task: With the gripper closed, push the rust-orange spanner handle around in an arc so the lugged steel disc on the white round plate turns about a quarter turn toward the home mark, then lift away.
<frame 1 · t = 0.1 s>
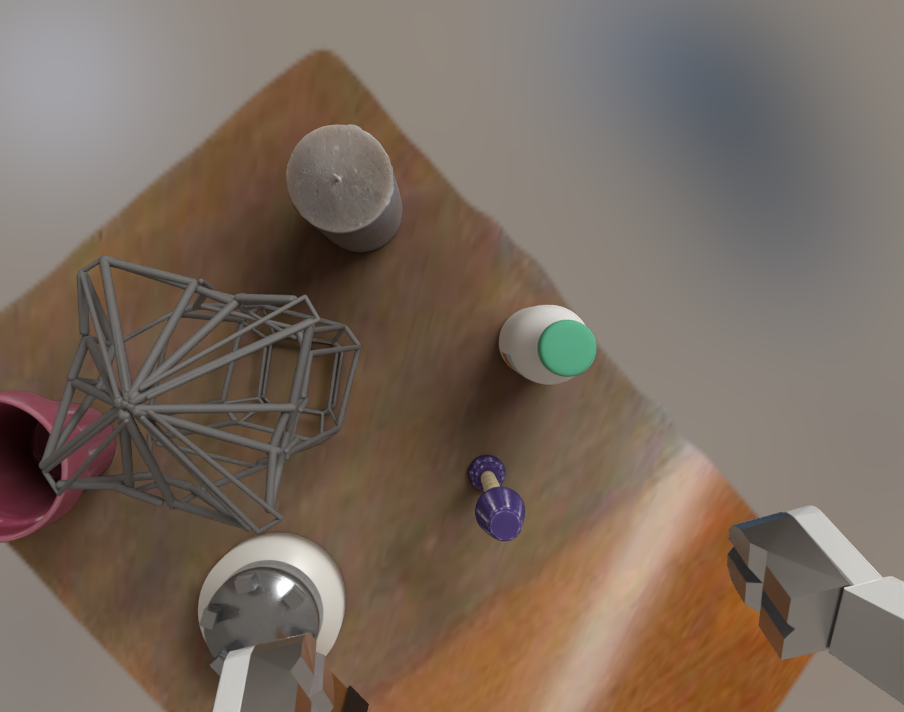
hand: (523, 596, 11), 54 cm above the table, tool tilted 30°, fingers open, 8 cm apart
pillar candle: (362, 210, 64), on the table
milk bottle: (531, 341, 65), on the table
white round plate: (278, 599, 66), on the table
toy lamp: (488, 474, 66), on the table
geometric lantern: (302, 363, 65), on the table
plant pot: (78, 441, 65), on the table
lugged steel disc: (288, 660, 60), point 7 cm above the table, hinge at 0.0°
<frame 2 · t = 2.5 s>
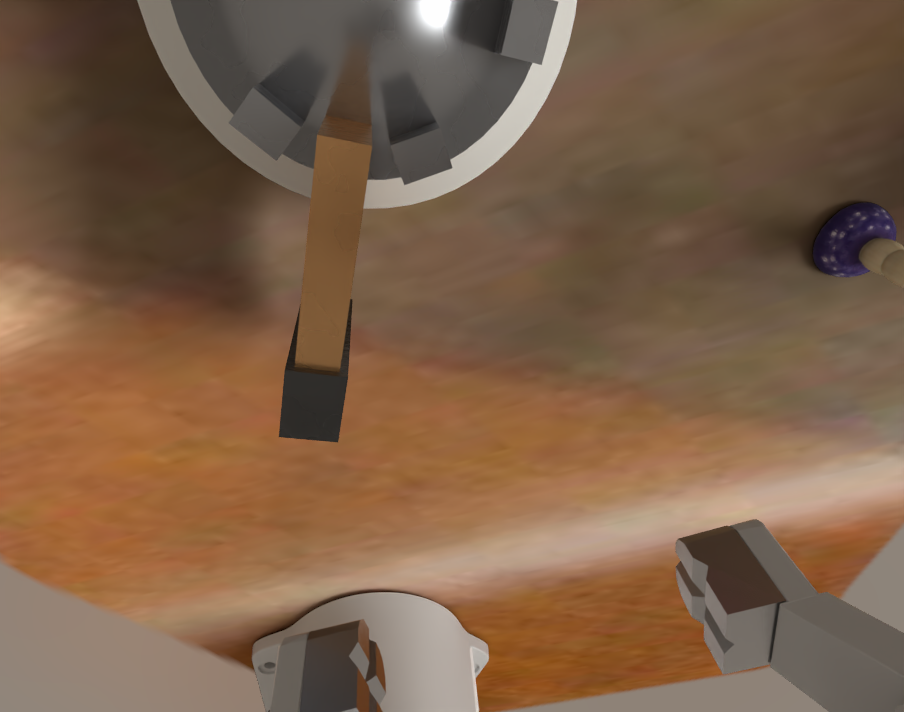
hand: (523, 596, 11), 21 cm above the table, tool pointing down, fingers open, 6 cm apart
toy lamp: (843, 243, 32), on the table
lugged steel disc: (346, 137, 20), point 7 cm above the table, hinge at 0.0°
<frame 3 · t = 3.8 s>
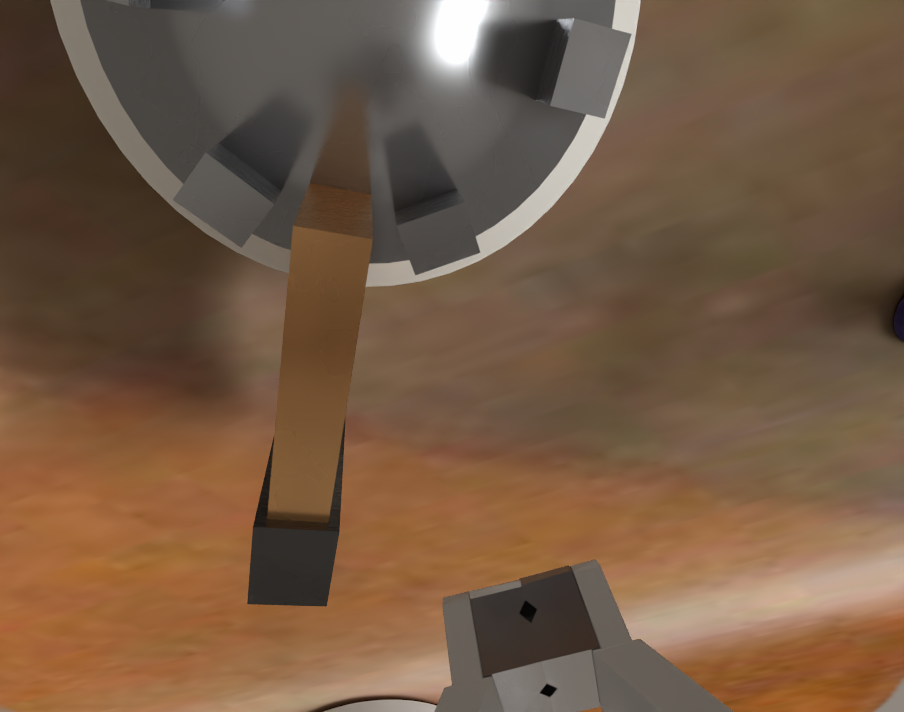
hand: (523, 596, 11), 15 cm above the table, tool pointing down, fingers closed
white round plate: (363, 20, 18), on the table
lugged steel disc: (337, 213, 15), point 7 cm above the table, hinge at 0.0°
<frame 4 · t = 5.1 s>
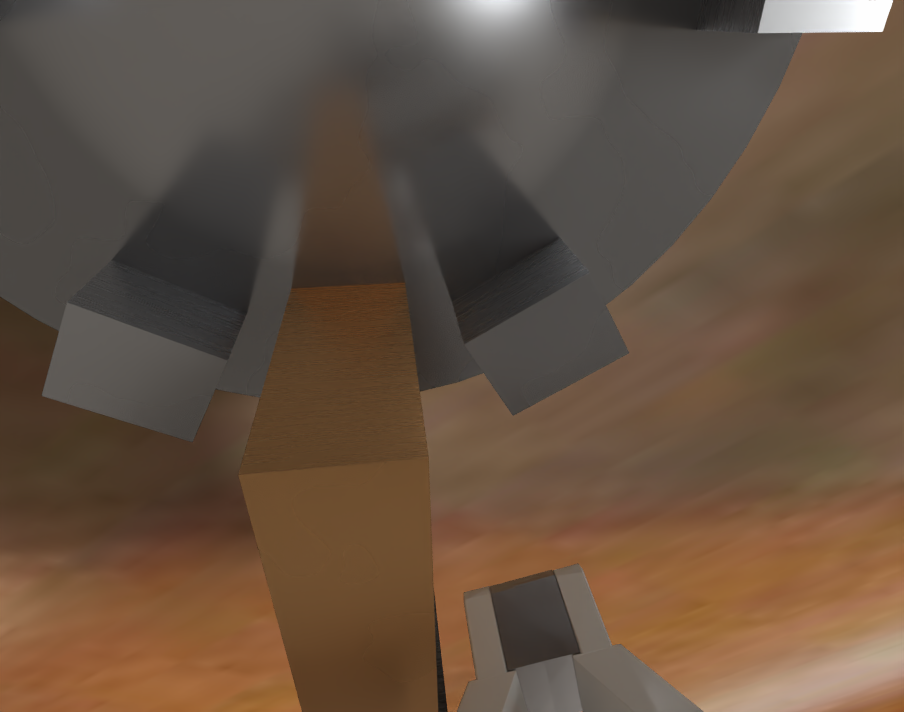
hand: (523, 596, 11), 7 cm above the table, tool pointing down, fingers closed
lugged steel disc: (351, 334, 8), point 7 cm above the table, hinge at 1.6°, touching gripper
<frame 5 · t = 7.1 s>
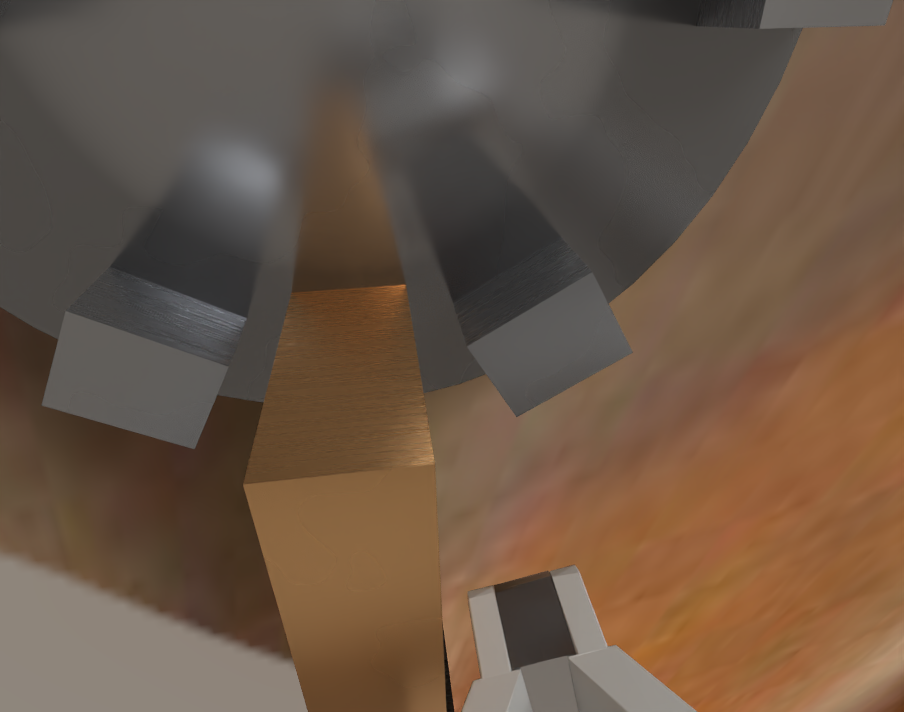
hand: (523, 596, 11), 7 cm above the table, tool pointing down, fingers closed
lugged steel disc: (352, 338, 8), point 7 cm above the table, hinge at 42.9°, touching gripper
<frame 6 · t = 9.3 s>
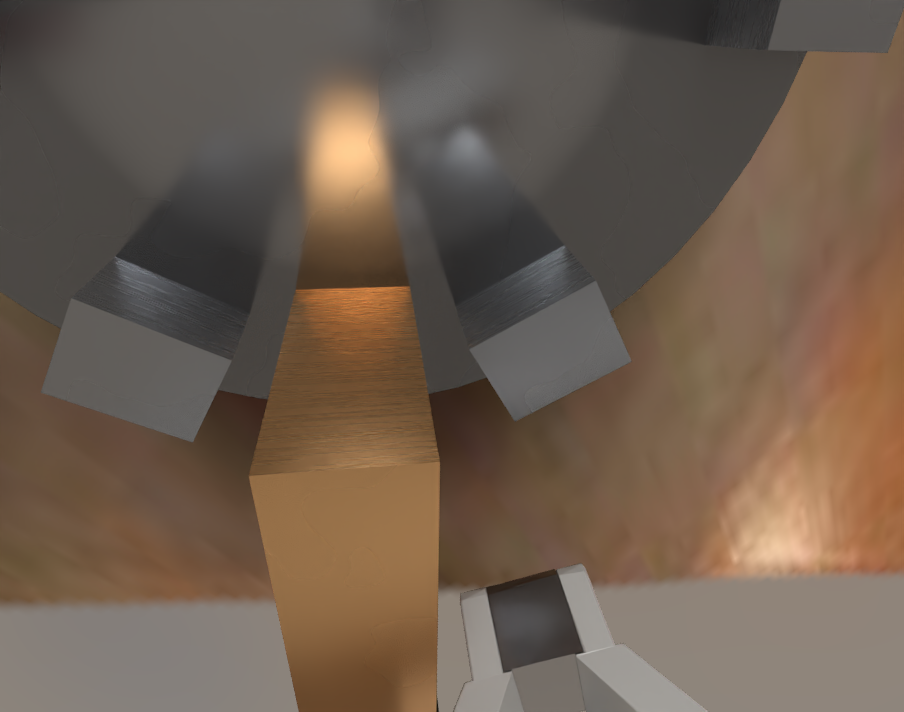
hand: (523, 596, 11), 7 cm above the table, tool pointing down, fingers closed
lugged steel disc: (355, 337, 8), point 7 cm above the table, hinge at 83.8°, touching gripper
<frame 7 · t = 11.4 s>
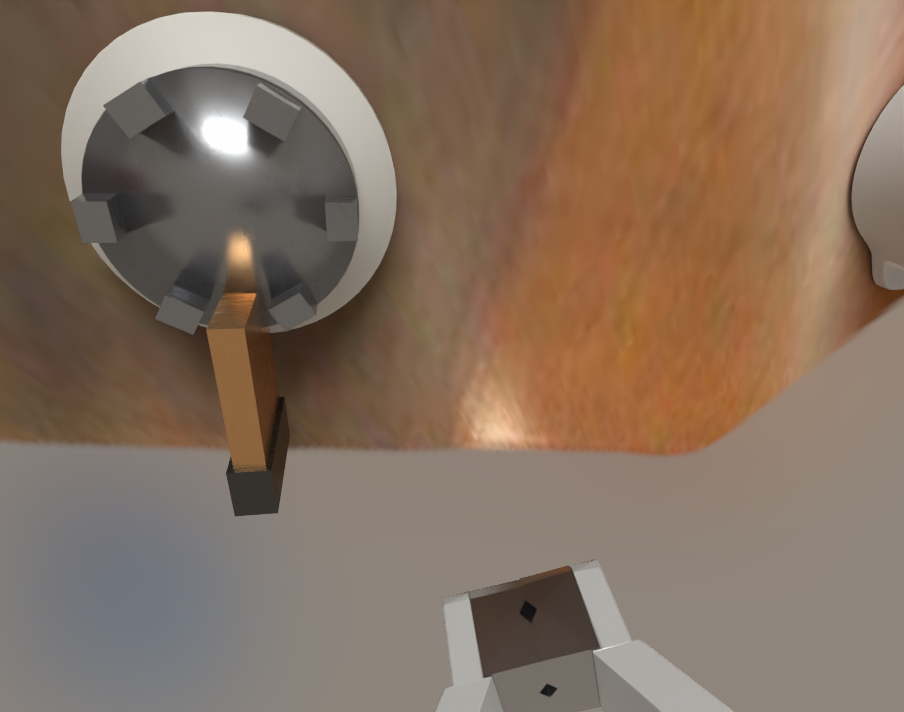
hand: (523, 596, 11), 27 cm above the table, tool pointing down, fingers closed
white round plate: (248, 181, 31), on the table
lugged steel disc: (239, 307, 28), point 7 cm above the table, hinge at 83.9°
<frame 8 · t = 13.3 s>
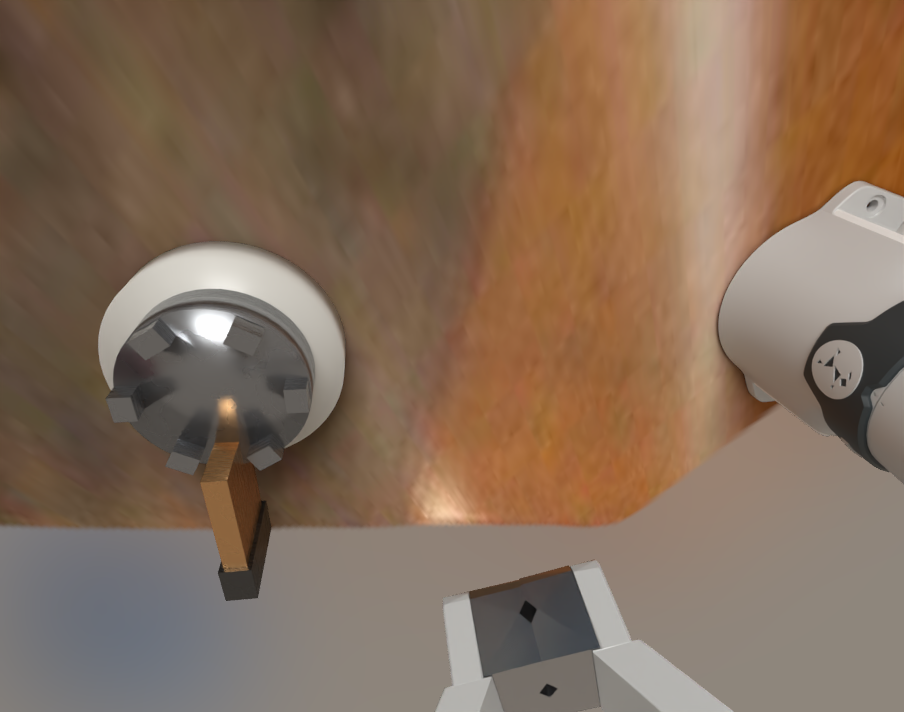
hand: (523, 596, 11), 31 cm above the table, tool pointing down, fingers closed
white round plate: (235, 345, 42), on the table
lugged steel disc: (226, 453, 38), point 7 cm above the table, hinge at 83.9°
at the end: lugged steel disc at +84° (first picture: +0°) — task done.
